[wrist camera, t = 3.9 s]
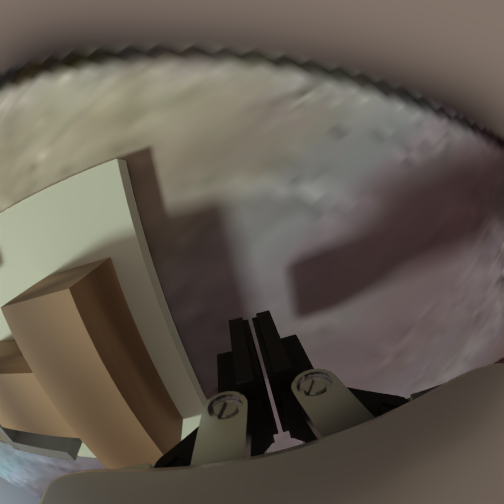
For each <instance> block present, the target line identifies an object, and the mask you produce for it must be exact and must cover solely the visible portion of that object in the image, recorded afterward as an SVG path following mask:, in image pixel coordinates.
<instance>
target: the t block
mask: <svg viewBox="0 0 504 504" xmlns="http://www.w3.org/2000/svg"><path fill="white" fill-rule="evenodd" d="M0 308H1V310H2V313H3V315H4V317H5V319H6V322H7V324H8V326H9V328H10V330H11V333H12V335H13V337H14V339H13V340H7V341H0V425H1V426H2V427H4V428H8V429H13V430H18V431H24V432H30V433H36V434H43V435H50V436H59V437H70V438H80V439H81V440H82V442H83V443H84V444H85V445H86V446H87V447H88V449H89V450H90V451H91V452H92V453H93V454H94V455H95V456H96V457H97V458H98V459H99V461H100V462H101V463H102V464H103V465H104V466H105V467H106V468H107V469H118V468H124V467H129V466H134V465H139V464H144V463H150V464H151V465H154V464H155V463H156V462H157V461H158V460H159V459H160V458H161V457H162V456H163V455H164V454H166V453H167V452H168V451H169V450H171V449H172V448H173V447H174V446H175V445H177V444H178V443H179V442H180V441H181V436H182V426H183V418H182V416H181V415H180V413H179V411H178V410H177V408H176V406H175V404H174V402H173V401H172V399H171V397H170V395H169V393H168V391H167V389H166V388H165V386H164V384H163V382H162V380H161V378H160V376H159V374H158V372H157V370H156V368H155V366H154V364H153V362H152V360H151V358H150V355H149V353H148V351H147V349H146V347H145V345H144V342H143V340H142V338H141V336H140V333H139V331H138V329H137V326H136V324H135V322H134V319H133V317H132V314H131V312H130V309H129V307H128V304H127V302H126V299H125V297H124V294H123V291H122V289H121V286H120V283H119V280H118V277H117V275H116V272H115V269H114V266H113V263H112V260H111V257H109V258H105V259H102V260H99V261H95V262H92V263H88V264H85V265H82V266H79V267H75V268H72V269H69V270H66V271H62V272H59V273H56V274H53V275H50V276H47V277H45V278H44V279H42V280H40V281H39V282H37V283H36V284H34V285H33V286H31V287H30V288H28V289H27V290H25V291H24V292H22V293H21V294H19V295H18V296H16V297H15V298H13V299H12V300H10V301H9V302H8V303H6V304H5V305H3V306H2V307H0Z"/></svg>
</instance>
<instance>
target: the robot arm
mask: <svg viewBox="0 0 504 504" xmlns="http://www.w3.org/2000/svg"><path fill="white" fill-rule="evenodd" d="M256 316H257V317H255V318H252V321H253V325H254V328H255V332H256V336H257V339H258V343H259V347H260V351H261V354H262V358H263V362H264V365H265V369H266V373H267V376H268V380H269V384H270V387H271V391H272V394H273V398H274V401H275V405H276V409H277V412H278V416H279V419H280V423H281V426H282V430H283V432H286V431H289V433H290V436H291V438H295V439H298V440H301V441H303V444H301V445H298V446H294V447H290V448H287V449H283V450H279V451H275V452H271V453H267V451H266V450H267V449H268V448H269V447H270V445H271V444H272V443H275V441H274V437H273V435H274V434H278V430H277V426H276V422H275V418H274V415H273V411H272V407H271V403H270V399H269V396H268V392H267V388H266V384H265V380H264V376H263V372H262V369H261V365H260V362H259V358H258V355H257V351H256V347H255V344H254V340H253V337H252V333H251V329H250V326H249V322H248V319H247V320H243V319H242V317H241V318H237V319H233V320H229V327H230V337H231V346H232V351H231V352H226V353H222V354H218V355H217V364H218V393H219V394H216V395H214V396H212V397H211V398H210V399H208V401H207V402H206V403H205V405H204V407H203V410H202V414H201V419H200V423H199V426H198V427H197V428H196V429H195V430H193V431H192V432H191V433H190V434H189V435H188V436H186V437H185V438H184V439H183V440H182V441H180V442H179V443H178V444H177V445H175V446H174V447H173V448H172V449H171V450H169V451H168V452H167V453H166V454H164V455H163V456H162V457H161V458H160V459H159V460H158V461H157V462H156V463H155V464H154V465H151V464H150V463H144V464H139V465H134V466H129V467H124V468H118V469H93V470H85V471H78V472H74V473H69V474H66V475H63V476H60V477H58V478H56V479H55V480H53V481H52V482H51V483H50V484H49V485H48V487H47V488H46V490H45V491H44V493H43V495H42V497H41V499H40V502H39V504H504V363H496V364H490V365H487V366H483V367H480V368H476V369H474V370H472V371H469V372H466V373H464V374H462V375H460V376H458V377H456V378H454V379H451V380H450V381H448V382H446V383H444V384H441V385H438V386H435V387H432V388H429V389H426V390H423V391H420V392H417V393H414V394H411V396H410V398H408V399H405V398H404V397H400V396H396V395H389V394H382V393H376V392H370V391H364V390H358V389H353V388H348V387H346V386H345V385H344V384H343V383H342V382H341V381H340V380H339V379H338V378H337V376H336V375H335V374H333V373H332V372H331V371H329V370H326V369H314V368H313V366H312V364H311V362H310V361H309V359H308V357H307V355H306V353H305V351H304V349H303V347H302V345H301V343H300V341H299V339H298V337H297V336H296V335H292V336H288V337H285V338H281V339H280V336H279V334H278V331H277V329H276V326H275V324H274V322H273V319H272V317H271V314H270V312H269V310H268V311H264V312H261V313H257V314H256Z"/></svg>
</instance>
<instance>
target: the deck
mask: <svg viewBox="0 0 504 504" xmlns="http://www.w3.org/2000/svg"><path fill="white" fill-rule="evenodd" d="M109 257H111V260H112V263H113V266H114V269H115V272H116V275H117V277H118V280H119V283H120V286H121V289H122V291H123V294H124V297H125V299H126V302H127V304H128V307H129V309H130V312H131V314H132V317H133V319H134V322H135V324H136V326H137V329H138V331H139V333H140V336H141V338H142V340H143V342H144V345H145V347H146V349H147V351H148V353H149V355H150V358H151V360H152V362H153V364H154V366H155V368H156V370H157V372H158V374H159V376H160V378H161V380H162V382H163V384H164V386H165V388H166V389H167V391H168V393H169V395H170V397H171V399H172V401H173V402H174V404H175V406H176V408H177V410H178V411H179V413H180V415H181V416H182V418H183V426H182V436H181V441H182V440H183V439H184V438H185V437H186V436H188V435H189V434H190V433H191V432H192V431H193V430H195V429H196V428H197V427H198V426H199V423H200V419H201V414H202V410H203V407H204V405H205V403H206V402H207V399H206V397H205V395H204V393H203V391H202V389H201V386H200V384H199V382H198V380H197V378H196V375H195V373H194V371H193V368H192V366H191V364H190V361H189V359H188V357H187V354H186V352H185V349H184V347H183V345H182V342H181V340H180V337H179V334H178V332H177V329H176V327H175V324H174V322H173V319H172V316H171V314H170V311H169V308H168V305H167V303H166V300H165V297H164V294H163V291H162V288H161V285H160V282H159V279H158V276H157V273H156V270H155V267H154V264H153V261H152V258H151V255H150V251H149V248H148V245H147V241H146V238H145V235H144V231H143V228H142V224H141V220H140V217H139V213H138V209H137V205H136V202H135V198H134V194H133V190H132V185H131V181H130V177H129V173H128V168H127V164H126V160H122V159H114V160H111V161H109V162H106V163H104V164H101V165H98V166H96V167H93V168H91V169H88V170H86V171H84V172H81V173H79V174H77V175H74V176H72V177H70V178H67V179H65V180H63V181H61V182H59V183H56V184H54V185H52V186H50V187H48V188H46V189H44V190H42V191H40V192H38V193H36V194H34V195H32V196H30V197H28V198H26V199H24V200H22V201H21V202H19V203H17V204H15V205H13V206H11V207H10V208H8V209H6V210H4V211H3V212H1V213H0V307H2V306H3V305H5V304H6V303H8V302H9V301H10V300H12V299H13V298H15V297H16V296H18V295H19V294H21V293H22V292H24V291H25V290H27V289H28V288H30V287H31V286H33V285H34V284H36V283H37V282H39V281H40V280H42V279H44V278H45V277H47V276H50V275H53V274H56V273H59V272H62V271H66V270H69V269H72V268H75V267H79V266H82V265H85V264H88V263H92V262H95V261H99V260H102V259H105V258H109ZM13 339H14V337H13V335H12V333H11V330H10V328H9V326H8V324H7V322H6V319H5V317H4V315H3V313H2V310H1V308H0V341H7V340H13ZM0 441H4V442H8V443H9V444H10V445H11V446H12V447H13V448H14V449H17V450H21V451H25V452H29V453H34V454H38V455H43V456H48V457H54V458H59V459H66V460H73V461H75V460H76V457H77V456H83V457H94V458H97V457H96V456H95V455H94V454H93V453H92V452H91V451H90V450H89V449H88V447H87V446H86V445H85V444H84V443H83V442H82V440H81V439H80V438H70V437H59V436H50V435H43V434H36V433H30V432H24V431H18V430H13V429H8V428H4V427H2V426H1V425H0Z"/></svg>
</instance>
